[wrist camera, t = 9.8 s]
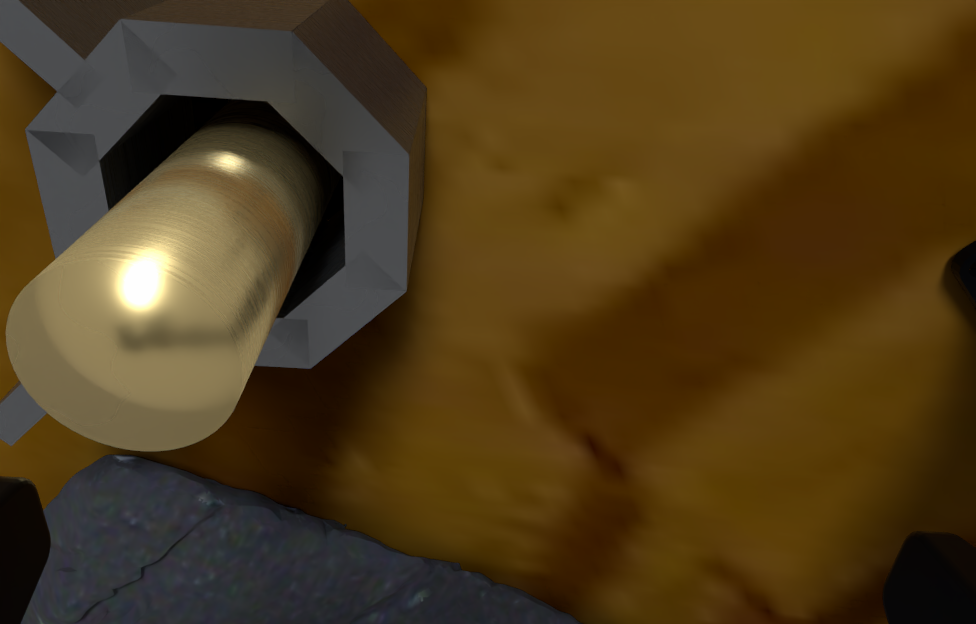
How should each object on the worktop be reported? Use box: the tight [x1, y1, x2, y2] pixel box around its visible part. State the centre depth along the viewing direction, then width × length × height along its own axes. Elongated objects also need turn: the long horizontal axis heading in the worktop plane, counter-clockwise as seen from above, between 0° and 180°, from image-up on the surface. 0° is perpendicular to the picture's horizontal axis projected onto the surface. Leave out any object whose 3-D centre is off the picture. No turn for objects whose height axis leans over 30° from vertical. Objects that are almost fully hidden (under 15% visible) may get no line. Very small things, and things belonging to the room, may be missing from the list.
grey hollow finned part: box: [0, 0, 427, 446], centre depth 16 cm, size 11×11×5 cm
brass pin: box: [6, 99, 341, 451], centre depth 14 cm, size 3×3×10 cm
